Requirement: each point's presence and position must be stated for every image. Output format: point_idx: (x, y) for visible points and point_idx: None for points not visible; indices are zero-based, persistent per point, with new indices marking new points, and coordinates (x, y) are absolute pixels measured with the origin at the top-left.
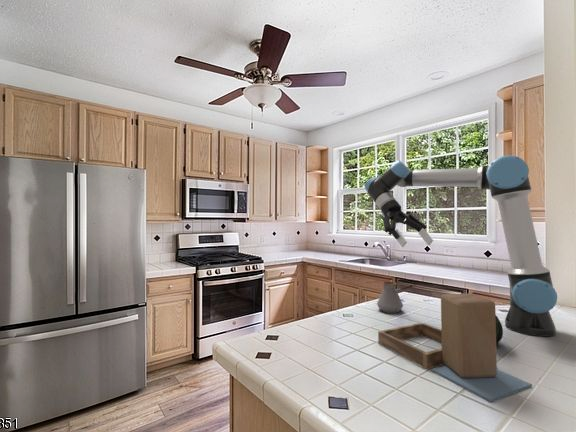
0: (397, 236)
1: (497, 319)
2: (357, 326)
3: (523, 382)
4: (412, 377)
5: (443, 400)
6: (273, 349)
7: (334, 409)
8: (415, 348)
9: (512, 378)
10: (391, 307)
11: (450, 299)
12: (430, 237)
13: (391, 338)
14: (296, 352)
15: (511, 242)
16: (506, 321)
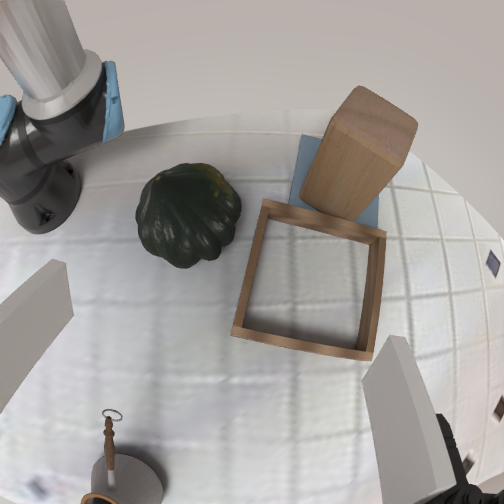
0: (441, 417)
1: (186, 163)
2: (314, 458)
3: (306, 140)
4: (410, 241)
5: (416, 193)
6: (487, 422)
7: (498, 257)
8: (382, 256)
9: (306, 150)
10: (150, 470)
11: (411, 141)
12: (34, 279)
13: (377, 317)
14: (476, 398)
15: (52, 24)
16: (53, 221)
